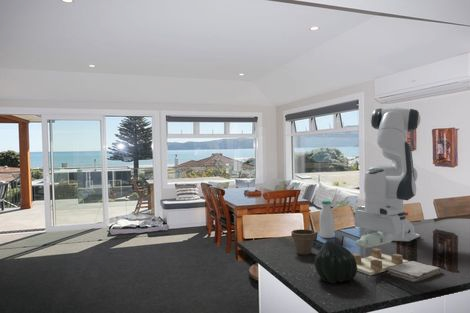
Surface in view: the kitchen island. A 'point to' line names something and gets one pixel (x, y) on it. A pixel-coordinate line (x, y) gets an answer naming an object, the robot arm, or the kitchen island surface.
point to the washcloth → (413, 271)
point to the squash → (335, 263)
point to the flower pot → (303, 240)
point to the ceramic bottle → (373, 240)
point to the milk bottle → (326, 220)
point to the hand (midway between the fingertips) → (376, 241)
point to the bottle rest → (377, 262)
